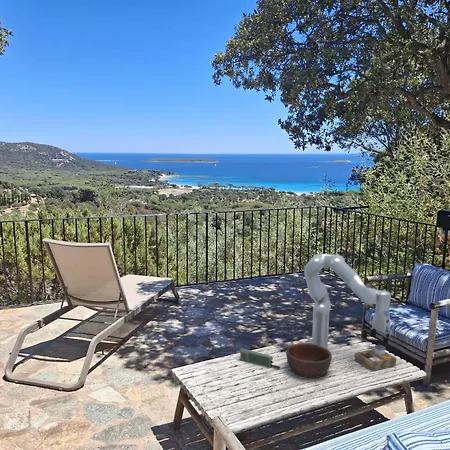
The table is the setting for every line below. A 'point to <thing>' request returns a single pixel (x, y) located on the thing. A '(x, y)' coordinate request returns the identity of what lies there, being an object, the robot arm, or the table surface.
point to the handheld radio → (257, 358)
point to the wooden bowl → (308, 359)
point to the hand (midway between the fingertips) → (379, 339)
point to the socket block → (375, 360)
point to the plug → (380, 350)
